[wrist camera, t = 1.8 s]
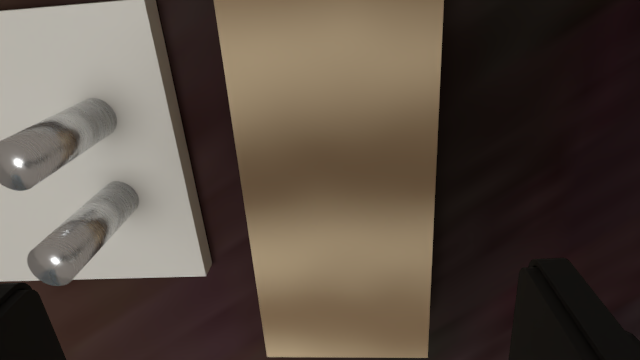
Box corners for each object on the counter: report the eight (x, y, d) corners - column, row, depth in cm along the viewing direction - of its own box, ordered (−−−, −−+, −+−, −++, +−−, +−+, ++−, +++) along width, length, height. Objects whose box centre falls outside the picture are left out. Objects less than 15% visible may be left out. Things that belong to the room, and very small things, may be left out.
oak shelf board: (226, -105, 16) (195, -123, 13) (430, -123, 15) (450, -147, 12) (278, 304, 23) (267, 357, 20) (417, 303, 23) (427, 357, 20)
